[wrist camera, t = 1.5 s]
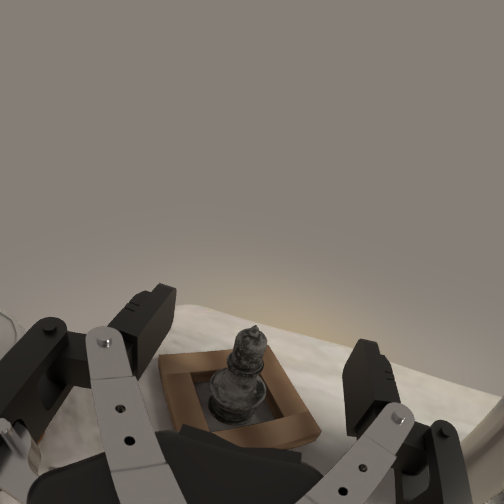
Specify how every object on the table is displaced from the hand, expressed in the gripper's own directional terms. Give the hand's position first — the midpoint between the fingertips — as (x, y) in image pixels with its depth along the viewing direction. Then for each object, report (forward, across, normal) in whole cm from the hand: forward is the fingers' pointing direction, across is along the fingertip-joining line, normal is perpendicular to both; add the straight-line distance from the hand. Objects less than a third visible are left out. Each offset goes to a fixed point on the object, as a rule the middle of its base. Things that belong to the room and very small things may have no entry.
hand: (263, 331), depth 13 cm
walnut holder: (+11, 0, +20) cm, 23 cm away
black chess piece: (+11, 0, +20) cm, 23 cm away
